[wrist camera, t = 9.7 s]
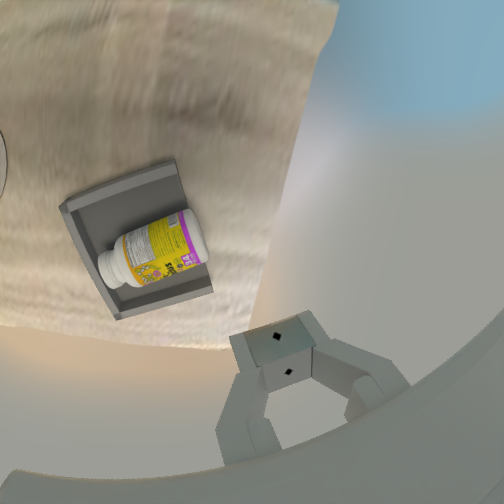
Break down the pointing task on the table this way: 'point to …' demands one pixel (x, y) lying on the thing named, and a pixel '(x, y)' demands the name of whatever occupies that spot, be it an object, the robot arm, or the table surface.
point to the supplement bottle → (154, 251)
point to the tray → (124, 221)
